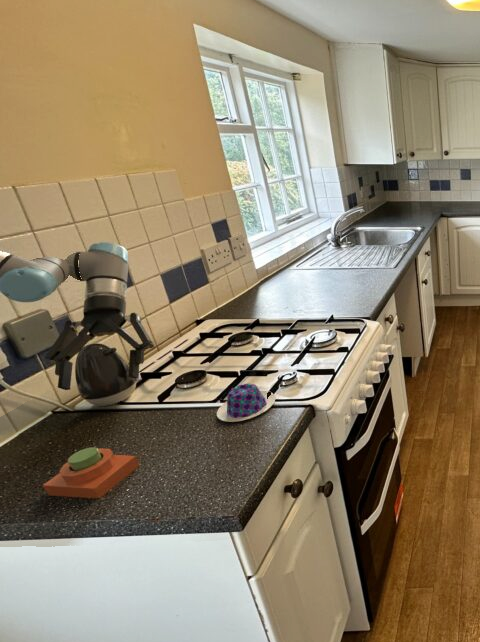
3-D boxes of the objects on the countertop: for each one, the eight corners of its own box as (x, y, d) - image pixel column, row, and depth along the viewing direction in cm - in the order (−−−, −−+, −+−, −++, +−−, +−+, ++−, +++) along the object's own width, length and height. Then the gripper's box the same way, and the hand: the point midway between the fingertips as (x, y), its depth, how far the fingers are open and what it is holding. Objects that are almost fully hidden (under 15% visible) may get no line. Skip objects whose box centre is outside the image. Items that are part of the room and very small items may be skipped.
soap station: (48, 495, 74) (37, 476, 72) (92, 462, 81) (83, 445, 80) (99, 498, 73) (89, 479, 72) (140, 465, 81) (131, 447, 79)
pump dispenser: (117, 412, 96) (91, 355, 90) (74, 411, 96) (45, 355, 90) (153, 387, 106) (132, 334, 100) (113, 387, 106) (90, 334, 100)
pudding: (286, 403, 99) (281, 385, 97) (233, 431, 90) (226, 411, 88) (260, 388, 105) (255, 370, 103) (207, 412, 96) (201, 393, 94)
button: (65, 470, 74) (61, 462, 73) (88, 455, 78) (84, 446, 77) (86, 472, 74) (81, 463, 73) (108, 456, 78) (104, 447, 77)
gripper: (171, 299, 111) (170, 376, 104) (53, 313, 103) (42, 397, 95) (157, 287, 104) (155, 368, 97) (30, 300, 96) (17, 390, 89)
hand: (99, 382), depth 96 cm, fingers open, 12 cm apart
